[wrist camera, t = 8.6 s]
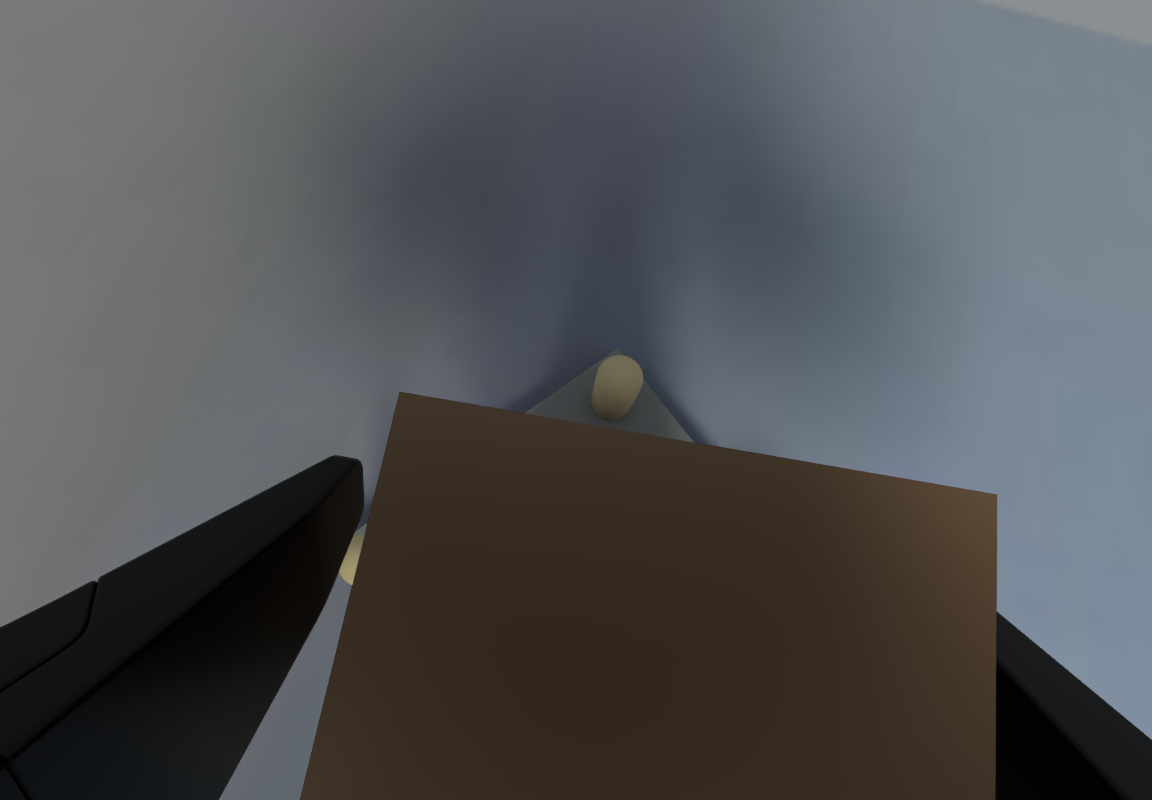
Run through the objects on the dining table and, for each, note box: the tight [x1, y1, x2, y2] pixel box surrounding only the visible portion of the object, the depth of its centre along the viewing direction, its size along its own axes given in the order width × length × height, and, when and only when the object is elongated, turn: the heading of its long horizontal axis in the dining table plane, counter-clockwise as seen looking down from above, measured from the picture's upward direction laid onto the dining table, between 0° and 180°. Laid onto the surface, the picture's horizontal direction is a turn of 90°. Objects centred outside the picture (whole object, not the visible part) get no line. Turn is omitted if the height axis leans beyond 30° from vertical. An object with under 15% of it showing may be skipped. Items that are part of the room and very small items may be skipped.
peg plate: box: [339, 347, 693, 585], centre depth 16 cm, size 10×10×4 cm
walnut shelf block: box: [300, 392, 997, 800], centre depth 11 cm, size 4×5×12 cm
